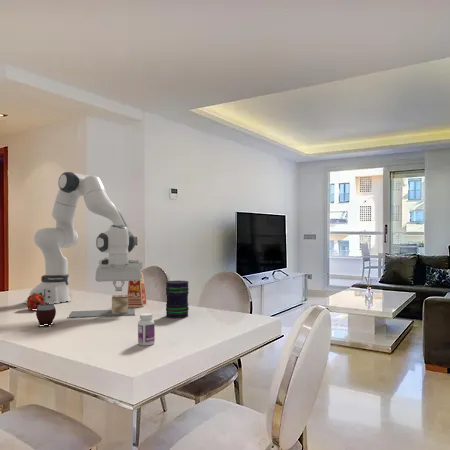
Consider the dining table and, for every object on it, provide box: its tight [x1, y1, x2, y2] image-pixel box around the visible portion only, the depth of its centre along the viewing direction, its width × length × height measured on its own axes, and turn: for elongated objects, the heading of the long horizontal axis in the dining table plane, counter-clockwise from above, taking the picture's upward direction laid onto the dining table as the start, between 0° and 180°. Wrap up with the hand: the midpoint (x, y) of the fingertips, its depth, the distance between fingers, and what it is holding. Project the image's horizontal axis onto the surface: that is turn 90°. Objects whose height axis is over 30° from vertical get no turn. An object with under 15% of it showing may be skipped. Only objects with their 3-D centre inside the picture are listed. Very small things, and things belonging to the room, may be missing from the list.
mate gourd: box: [35, 289, 57, 326], centre depth 165 cm, size 8×8×15 cm
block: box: [111, 294, 129, 314], centre depth 191 cm, size 7×7×7 cm
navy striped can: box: [165, 280, 190, 319], centre depth 184 cm, size 10×10×15 cm
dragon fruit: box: [26, 293, 48, 310], centre depth 199 cm, size 8×8×12 cm
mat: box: [68, 308, 136, 318], centre depth 189 cm, size 28×14×1 cm, turn 103°
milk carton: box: [127, 271, 148, 308], centre depth 211 cm, size 9×9×20 cm
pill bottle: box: [137, 312, 156, 347], centre depth 138 cm, size 5×5×10 cm
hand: (118, 291), depth 191 cm, fingers closed
